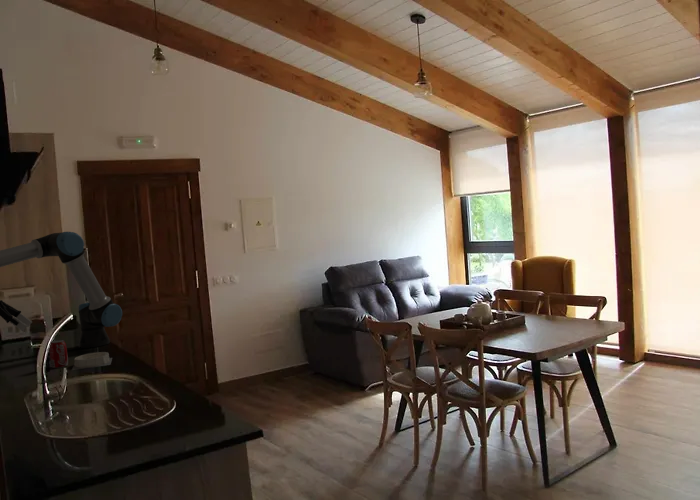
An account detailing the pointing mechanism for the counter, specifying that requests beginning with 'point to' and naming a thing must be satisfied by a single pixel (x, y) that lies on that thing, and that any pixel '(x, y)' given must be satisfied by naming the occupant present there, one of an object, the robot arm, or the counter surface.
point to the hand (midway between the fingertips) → (27, 326)
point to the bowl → (91, 360)
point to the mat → (95, 366)
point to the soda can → (58, 354)
